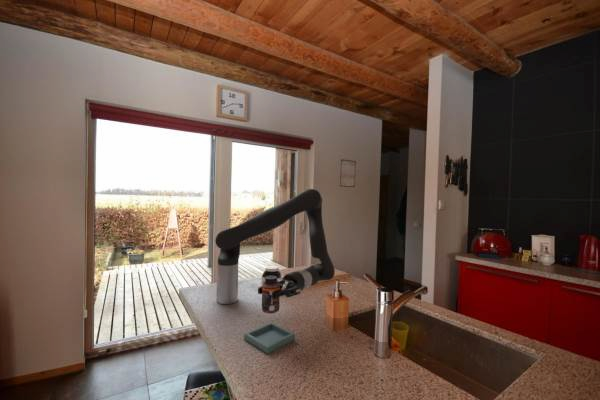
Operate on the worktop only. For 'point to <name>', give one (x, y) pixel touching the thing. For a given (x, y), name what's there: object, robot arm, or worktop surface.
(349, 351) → the worktop surface
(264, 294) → the supplement bottle
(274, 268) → the spread jar
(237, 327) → the worktop surface
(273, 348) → the tray
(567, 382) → the worktop surface
